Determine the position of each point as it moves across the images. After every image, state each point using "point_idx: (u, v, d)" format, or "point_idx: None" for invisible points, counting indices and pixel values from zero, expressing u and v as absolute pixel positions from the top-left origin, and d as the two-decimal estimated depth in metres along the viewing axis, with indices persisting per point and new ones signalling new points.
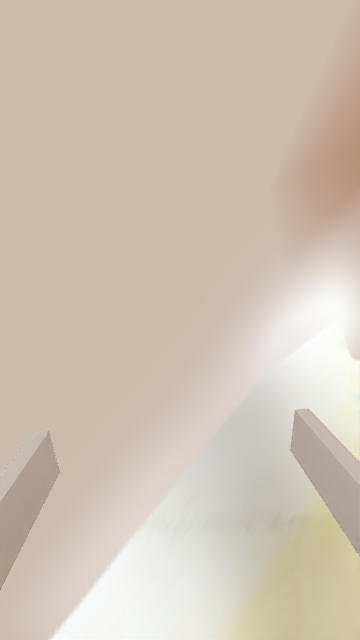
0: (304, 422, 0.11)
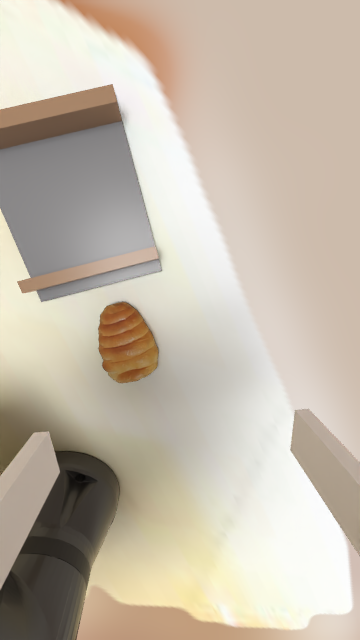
0: (304, 422, 0.11)
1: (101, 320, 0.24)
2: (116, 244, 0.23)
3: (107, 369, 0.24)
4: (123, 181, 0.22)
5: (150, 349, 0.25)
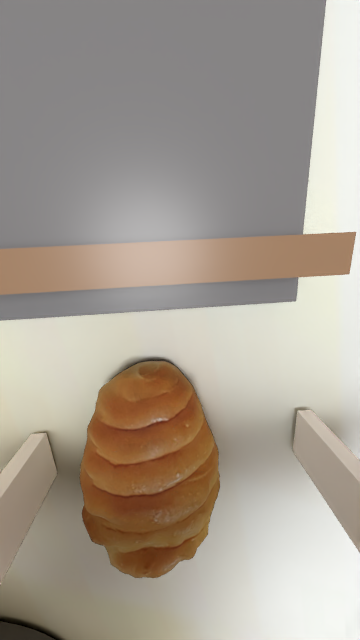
0: (307, 423, 0.10)
1: (100, 408, 0.09)
2: (201, 206, 0.08)
3: (93, 538, 0.09)
4: None
5: (210, 492, 0.10)
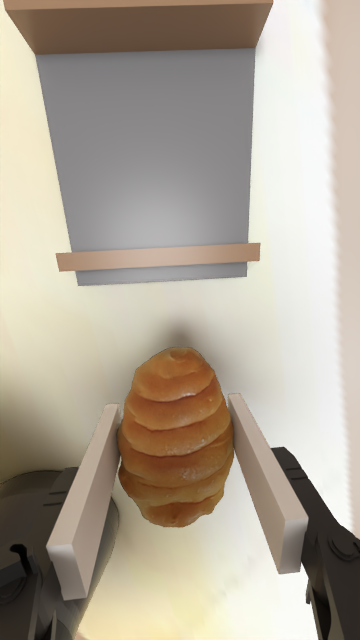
0: (231, 404, 0.12)
1: (138, 385, 0.10)
2: (197, 229, 0.17)
3: (129, 493, 0.11)
4: (231, 140, 0.15)
5: (227, 459, 0.11)
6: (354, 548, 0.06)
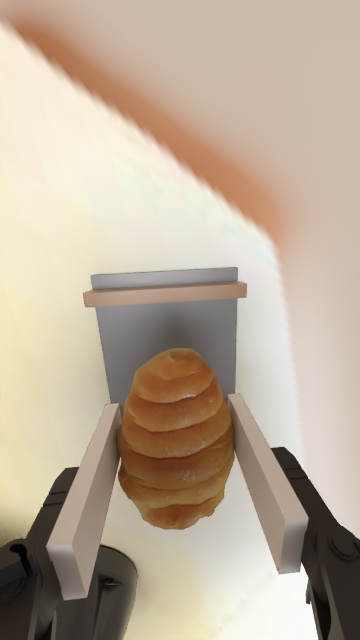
0: (231, 404, 0.12)
1: (138, 386, 0.10)
2: None
3: (129, 495, 0.11)
4: (222, 340, 0.22)
5: (227, 460, 0.11)
6: (354, 548, 0.06)
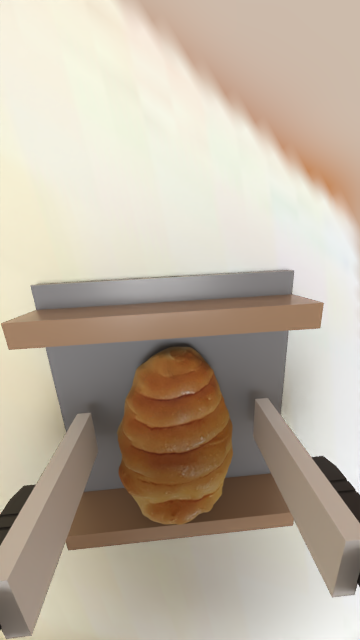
0: (261, 409, 0.12)
1: (138, 383, 0.11)
2: None
3: (129, 490, 0.11)
4: (260, 391, 0.13)
5: (225, 457, 0.12)
6: None
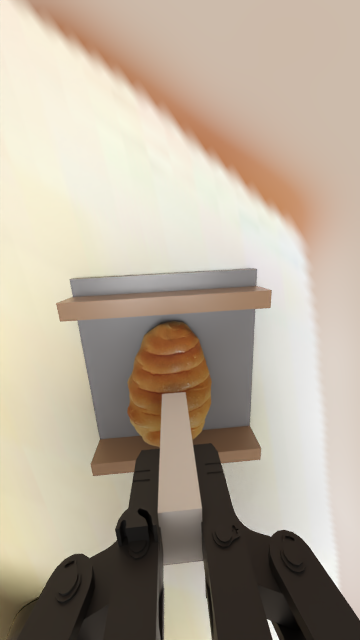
0: (174, 402, 0.13)
1: (145, 344, 0.15)
2: (207, 417, 0.19)
3: (135, 421, 0.15)
4: (235, 359, 0.18)
5: (205, 402, 0.16)
6: (233, 531, 0.06)
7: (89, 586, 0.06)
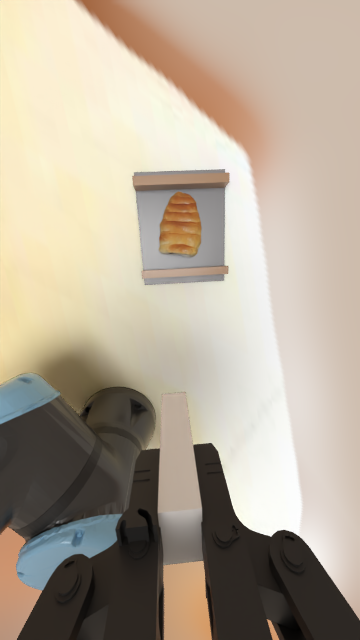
0: (174, 402, 0.13)
1: (170, 200, 0.32)
2: (200, 258, 0.36)
3: (164, 238, 0.32)
4: (215, 222, 0.35)
5: (198, 235, 0.33)
6: (233, 531, 0.06)
7: (89, 586, 0.06)
